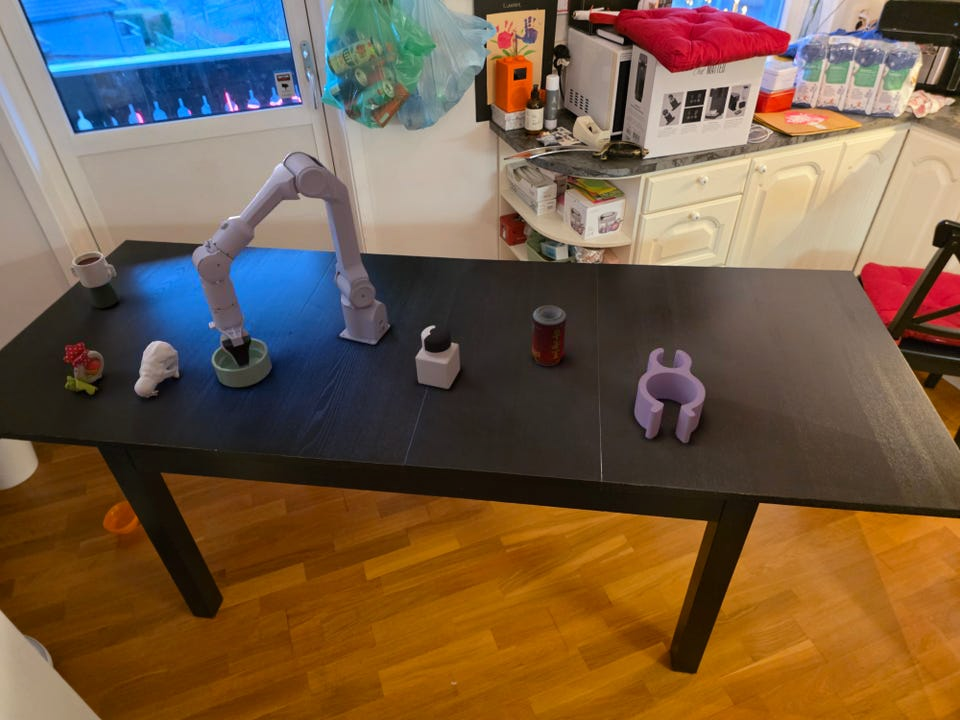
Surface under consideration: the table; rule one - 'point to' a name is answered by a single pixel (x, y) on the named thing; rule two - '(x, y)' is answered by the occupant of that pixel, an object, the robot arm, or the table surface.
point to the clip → (669, 394)
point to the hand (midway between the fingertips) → (240, 354)
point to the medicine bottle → (437, 358)
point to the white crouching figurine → (156, 367)
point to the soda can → (548, 334)
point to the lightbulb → (222, 338)
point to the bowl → (243, 376)
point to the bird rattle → (83, 367)
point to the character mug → (96, 278)
